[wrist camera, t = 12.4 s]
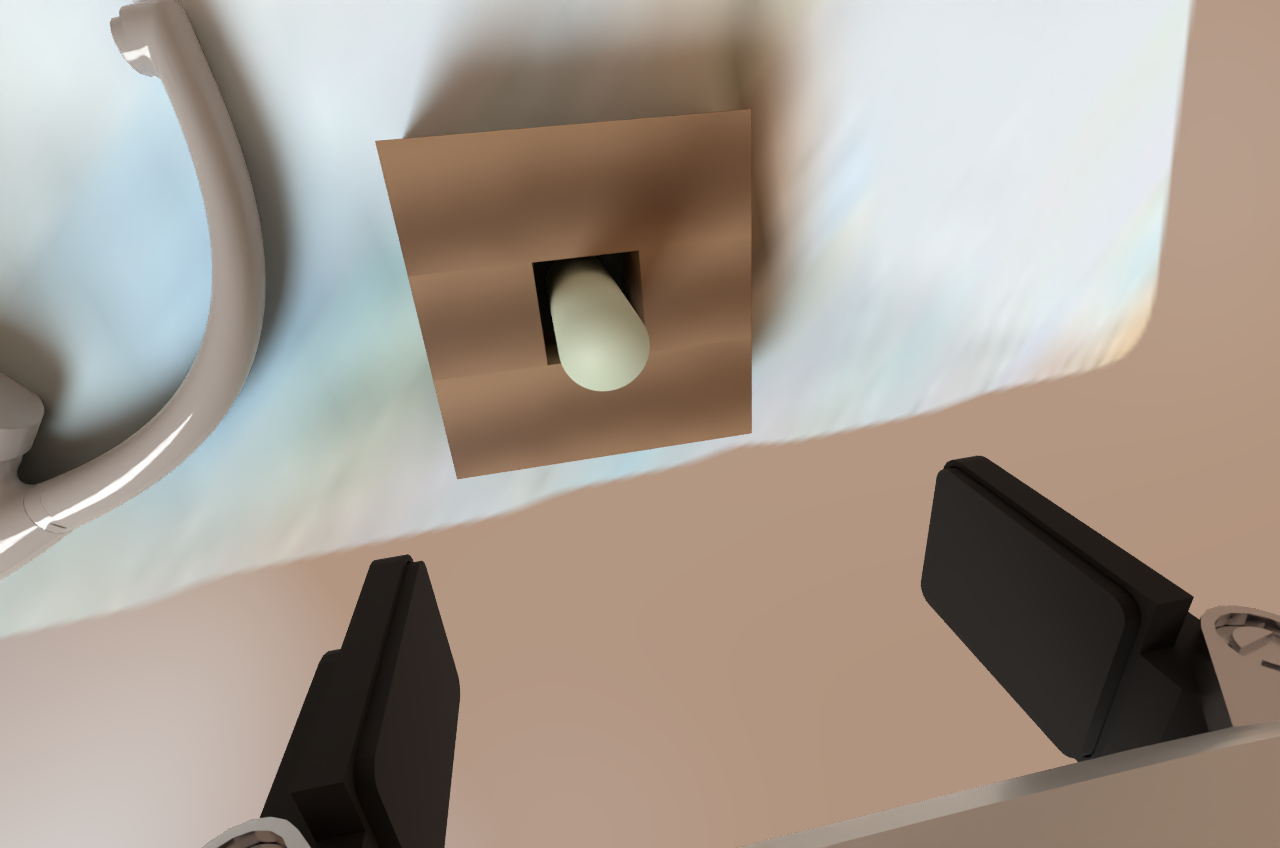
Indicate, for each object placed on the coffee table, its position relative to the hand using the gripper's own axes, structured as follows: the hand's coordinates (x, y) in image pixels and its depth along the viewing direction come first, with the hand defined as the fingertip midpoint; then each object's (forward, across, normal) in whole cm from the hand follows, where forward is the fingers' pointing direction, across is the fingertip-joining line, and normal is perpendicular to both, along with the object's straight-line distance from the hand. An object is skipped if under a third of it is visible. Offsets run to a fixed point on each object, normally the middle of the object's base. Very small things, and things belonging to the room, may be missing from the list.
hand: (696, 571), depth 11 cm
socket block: (+26, 0, 0) cm, 26 cm away
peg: (+26, 0, 0) cm, 26 cm away
